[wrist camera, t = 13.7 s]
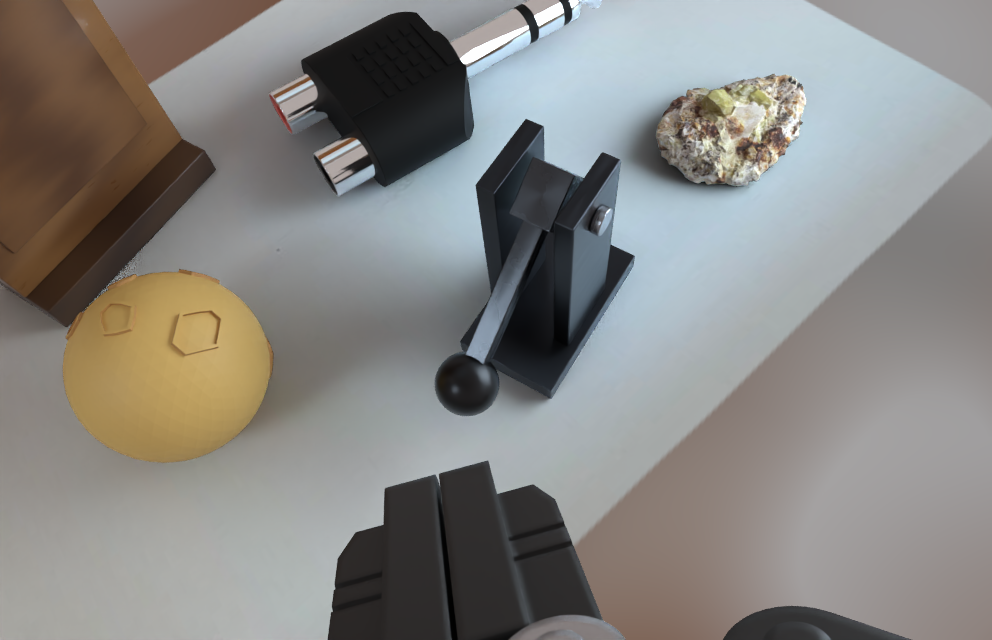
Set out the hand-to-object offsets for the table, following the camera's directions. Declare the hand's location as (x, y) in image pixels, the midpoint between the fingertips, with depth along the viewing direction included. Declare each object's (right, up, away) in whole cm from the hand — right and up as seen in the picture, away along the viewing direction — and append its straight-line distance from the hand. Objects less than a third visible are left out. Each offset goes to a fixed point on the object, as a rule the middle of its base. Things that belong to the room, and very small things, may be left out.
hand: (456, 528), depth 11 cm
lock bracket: (+4, +4, +34) cm, 35 cm away
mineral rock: (+16, +15, +39) cm, 45 cm away
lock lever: (+2, +4, +27) cm, 27 cm away
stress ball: (-16, -2, +33) cm, 37 cm away
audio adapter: (-1, +20, +43) cm, 47 cm away
